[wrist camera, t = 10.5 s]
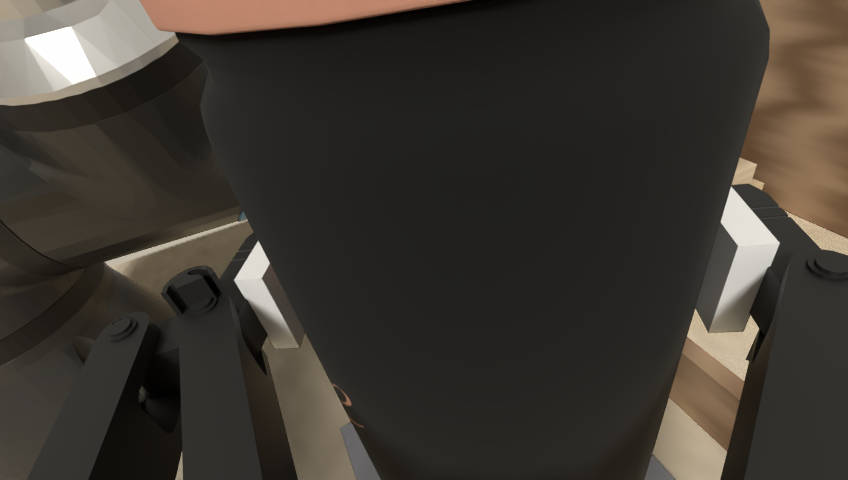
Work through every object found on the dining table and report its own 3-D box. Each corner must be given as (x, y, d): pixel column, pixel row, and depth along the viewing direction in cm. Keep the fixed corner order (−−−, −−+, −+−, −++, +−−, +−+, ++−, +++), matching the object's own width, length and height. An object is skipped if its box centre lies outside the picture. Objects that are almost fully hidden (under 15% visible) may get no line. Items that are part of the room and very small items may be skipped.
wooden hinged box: (520, 257, 36) (511, 56, 26) (710, 170, 41) (763, -27, 31) (863, 578, 18) (1259, 314, 8) (1131, 350, 23) (1579, 14, 13)
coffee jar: (419, 318, 24) (315, -81, 13) (633, 342, 21) (728, -174, 10) (338, 535, 16) (-79, -2, 5) (659, 631, 13) (1265, -319, 2)
